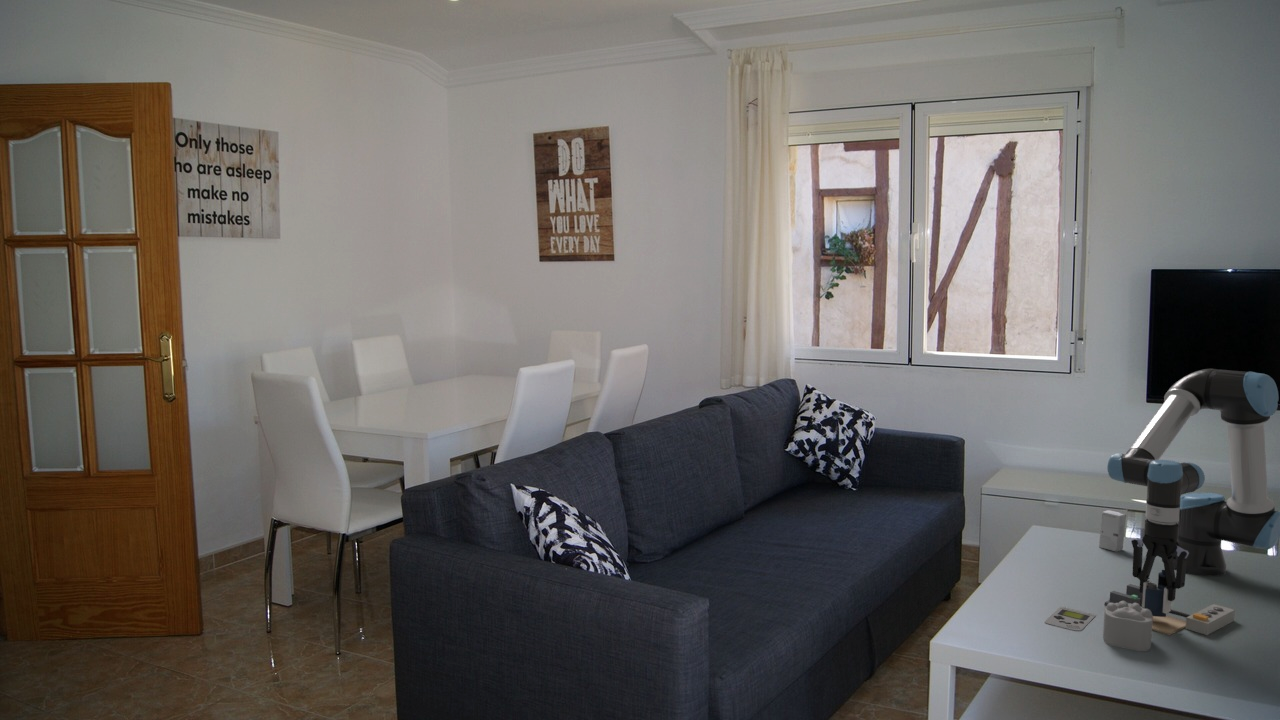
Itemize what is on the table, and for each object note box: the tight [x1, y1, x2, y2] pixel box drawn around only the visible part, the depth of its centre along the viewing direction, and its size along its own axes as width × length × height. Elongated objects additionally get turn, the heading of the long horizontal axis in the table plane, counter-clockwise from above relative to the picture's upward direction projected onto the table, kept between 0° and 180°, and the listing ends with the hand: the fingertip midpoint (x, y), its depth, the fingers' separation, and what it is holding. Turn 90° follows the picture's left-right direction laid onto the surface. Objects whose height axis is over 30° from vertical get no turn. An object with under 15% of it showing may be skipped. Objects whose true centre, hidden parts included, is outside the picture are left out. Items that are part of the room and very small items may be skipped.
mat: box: [1152, 615, 1186, 636], centre depth 234 cm, size 12×12×1 cm
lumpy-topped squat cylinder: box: [1102, 601, 1153, 652], centre depth 222 cm, size 10×13×9 cm
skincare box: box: [1098, 509, 1127, 552], centre depth 295 cm, size 6×4×12 cm
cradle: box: [1104, 583, 1191, 618], centre depth 240 cm, size 11×21×5 cm, turn 36°
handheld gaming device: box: [1044, 606, 1096, 632], centre depth 235 cm, size 9×1×15 cm
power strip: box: [1185, 603, 1236, 636], centre depth 232 cm, size 16×5×4 cm, turn 126°
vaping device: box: [1143, 569, 1167, 617], centre depth 233 cm, size 3×5×12 cm, turn 78°
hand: (1156, 608), depth 233 cm, fingers closed on vaping device, 4 cm apart
